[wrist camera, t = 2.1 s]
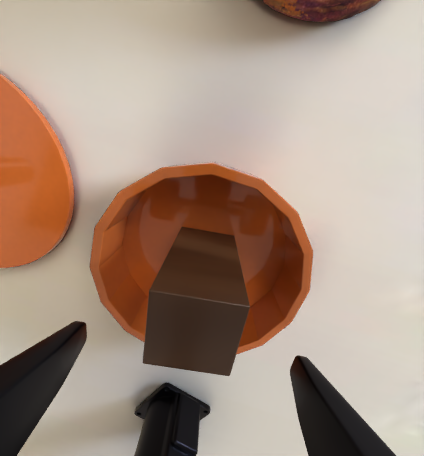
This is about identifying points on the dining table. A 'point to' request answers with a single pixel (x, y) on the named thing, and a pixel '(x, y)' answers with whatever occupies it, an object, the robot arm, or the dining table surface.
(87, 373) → the dining table surface
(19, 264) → the lid
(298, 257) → the pot
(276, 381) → the dining table surface
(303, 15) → the bell
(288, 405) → the dining table surface
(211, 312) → the block
